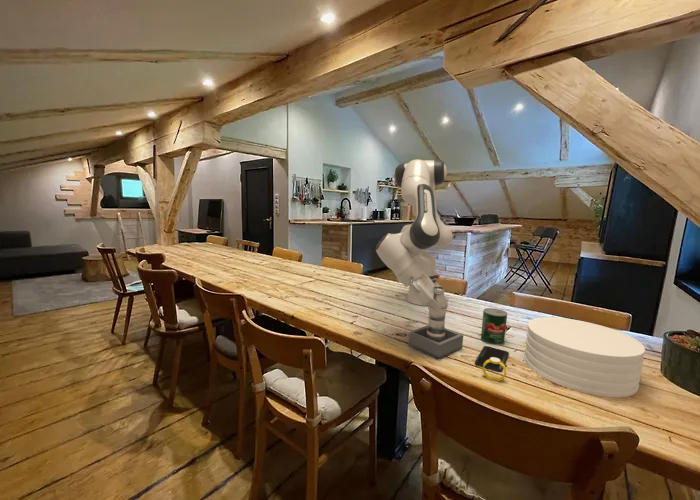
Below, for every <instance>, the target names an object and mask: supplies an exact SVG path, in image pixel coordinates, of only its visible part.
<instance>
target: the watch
mask: <svg viewBox="0 0 700 500" xmlns="http://www.w3.org/2000/svg"><path fill="white" fill-rule="evenodd" d="M489 362H491V363H494V364H500V365H501V366H502V367H503V370H504V373H503V375H502V376H500V377H495V376H492V375H489V374H488V373H487V372H486V370H485V369H486V367H485V365H486V364H487V363H489ZM484 367H485V368H484ZM482 372H483V375H484V376H485V377H486V378H487V379H488V380H492V381H493V380H494V381H496V382H501V381H503V380H504V379H505V377H506V376H507V367H506V365H505V366H504V364H503V363H502V362H501V361H500V359H498V358H495V357H491V358H490V359H489V360H487V361H486V362H485V363H484V365H483V368H482Z"/></svg>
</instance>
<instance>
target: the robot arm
mask: <svg viewBox="0 0 700 500" xmlns="http://www.w3.org/2000/svg"><path fill="white" fill-rule="evenodd" d="M393 174H394V175H393V178H394V181H395V183H396V186H398V188H401V189H400V194H401V199H402V200H403V201H404V202H405V203H406V204H408V205H410V206H411V209H412V211H411V212H412V213H413V214H412V215H413V216H414V217H415V219H414V221H413V222H412V223H411V224H405V225H404V226H403V227H402V229H401V230H400V232H398V233H389V232H388V233H386V234H385V235H384V236H382V238H381V239H380V240H379V241H378V242H377V244H376V247H375V252H376V254H377V255H378V257H379V259H380V260H381V261H382V262H383V264H385V266H386V267H387V268H388V269H390V270H391V271H392V272H393V273H394V276H395V278H397V279H398V280H399V281H400V283H401V284H402V285H403V286H404V287H406V288H407V287H408V294H406V299H407V302H409V303H411V304H414V305H418V306H419V305H420V306H425V307H426V306H427V307H428V304H429V305H430V306H431V307H432V308H434V309H435V310H436V311H437V312H439V311H440V310H441V306H440V305H439V304H437V303H436V302H435V300H434V299H433V298H434V291H433V287H435V286H439V287H442V286H441V285H440V284H439V283H438V281H437V279H439V280H440V278H441V276H440V274H436V273H435V272H436V259H435V258H434V256H432V254H430V253H429V252H428V251H427V249H430V248H433V249H442V248H447V247H449V246H450V244H452V241H453V237H454V236H453V232H452V230H451V228H450V227H449V226H447V225H446V224H445V223H444V222H443V221H442V220H441V218H440V216H439V214H438V209H437V201H436V200H437V198H436V193H437V192H436V187H438V186H439V185H442V184H443V183H445V181H446V177H447V176H448V169H447V166H446V164H445V162H444V161H443V160H441V159H434V160H429V159H427V160H426V159H425V160H423V159H412V160H410V161H409V162H407V163H400V164H398V165H397V166H396V168H395V171H394V173H393ZM435 186H436V187H435ZM443 295H444V297H445V298H446V300H447V302H448V301H449V297H447V296H445V293H444V294H443Z"/></svg>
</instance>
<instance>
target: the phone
mask: <svg viewBox="0 0 700 500" xmlns="http://www.w3.org/2000/svg"><path fill="white" fill-rule="evenodd" d="M509 355H510V352H509V351H506V350H503V349H500V348H497V347H492V346H488V345H485V346H483V347H482V349H481V351H480V353H478V356H477V357H476V359H475V360H474V366H477V367H478V368H479V367H480V368H482V369H483V365H484V363H485V362H486V361H487V360H489V359H490V358H491V357H495V358H498V359H500V361H501V362H502V363H503V364H504V366H505V367H506V362H507V361H508V359H509ZM484 369H486V370H489V371H493V372H496V373H502V372H503V370H504V369H503V367H502V366H501V365H500V364H494V363H491V362H489V363H487V364H486V365H485V367H484Z"/></svg>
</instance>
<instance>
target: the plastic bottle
mask: <svg viewBox="0 0 700 500" xmlns="http://www.w3.org/2000/svg"><path fill="white" fill-rule="evenodd" d="M433 291H434V298H433V299H434V300H435V302H436V303H437V304H439V305H440V306H441V310H440V311H439V312H437V311H436V310H435V309H434V308H432V307H431V306H430V305H429V304H428V305H427V307H428V324H427V326H428V330H427V333H426V338H429V339H431V340H433V341H436V342H438V343H439V342H442V341H444V340H445V328H446V326H445V324H446V323H445V322H446V315H447V310H448V301H447V300H446V298H445V297H446V296H445V287H443V286H441V287H439V286H435V287H433ZM443 294H444V295H443ZM444 296H445V297H444Z"/></svg>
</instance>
